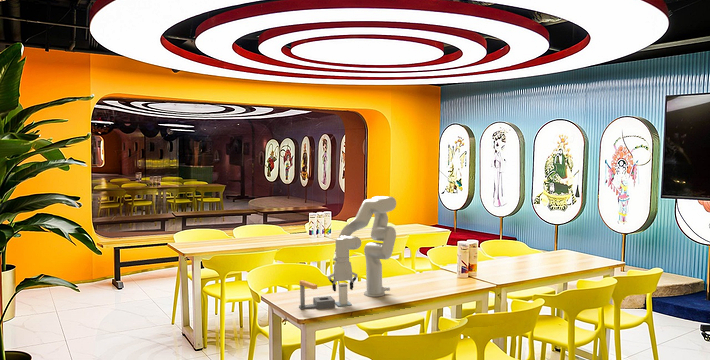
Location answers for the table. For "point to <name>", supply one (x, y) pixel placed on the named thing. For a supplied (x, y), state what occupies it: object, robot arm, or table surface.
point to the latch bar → (308, 284)
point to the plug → (343, 293)
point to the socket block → (316, 301)
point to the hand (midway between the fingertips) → (343, 290)
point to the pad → (343, 304)
